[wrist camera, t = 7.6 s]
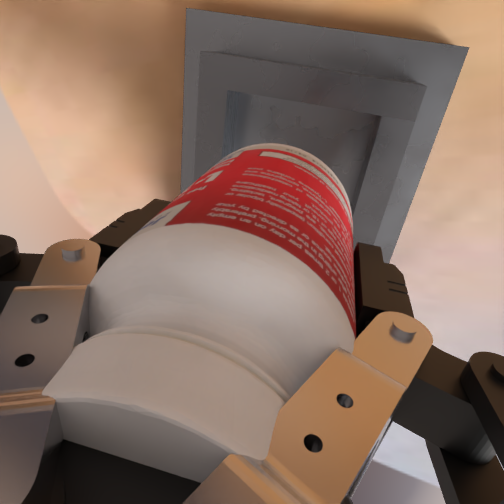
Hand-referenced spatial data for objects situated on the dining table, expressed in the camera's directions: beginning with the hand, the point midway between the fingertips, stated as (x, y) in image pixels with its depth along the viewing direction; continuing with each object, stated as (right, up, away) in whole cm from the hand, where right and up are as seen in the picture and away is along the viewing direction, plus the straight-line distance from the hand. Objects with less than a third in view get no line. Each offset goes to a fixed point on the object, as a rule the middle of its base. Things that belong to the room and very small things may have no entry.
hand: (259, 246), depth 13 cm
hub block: (+3, +6, +11) cm, 12 cm away
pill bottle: (+1, +1, +2) cm, 3 cm away
